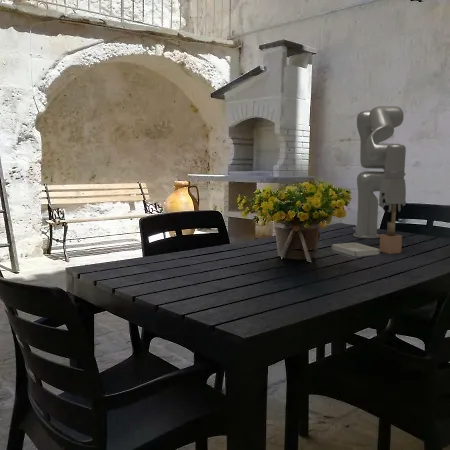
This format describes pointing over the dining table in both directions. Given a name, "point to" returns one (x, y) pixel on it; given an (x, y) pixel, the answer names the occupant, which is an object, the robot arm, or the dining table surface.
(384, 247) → the terracotta cup
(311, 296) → the dining table surface
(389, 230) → the beech dowel
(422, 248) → the dining table surface
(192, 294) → the dining table surface
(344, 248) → the plastic tray
